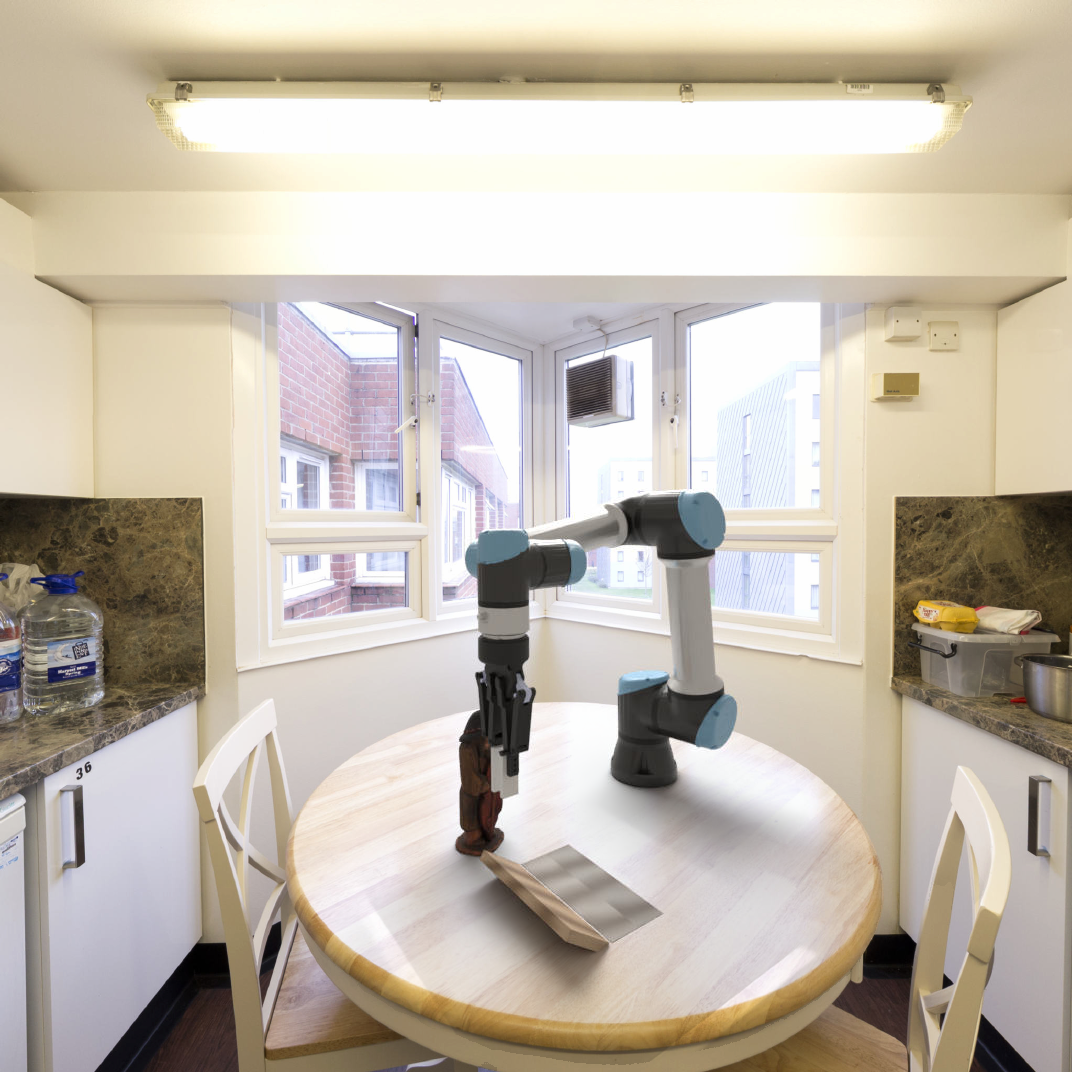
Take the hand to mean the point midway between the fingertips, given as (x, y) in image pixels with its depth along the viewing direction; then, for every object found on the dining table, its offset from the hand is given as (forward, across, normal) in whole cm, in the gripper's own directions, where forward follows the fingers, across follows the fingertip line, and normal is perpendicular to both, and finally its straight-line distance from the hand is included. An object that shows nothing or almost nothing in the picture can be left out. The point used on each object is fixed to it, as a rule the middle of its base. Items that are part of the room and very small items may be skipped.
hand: (504, 792), depth 86 cm
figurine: (+19, -17, +6) cm, 26 cm away
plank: (+16, +4, +3) cm, 16 cm away
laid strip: (+18, +4, +12) cm, 23 cm away
